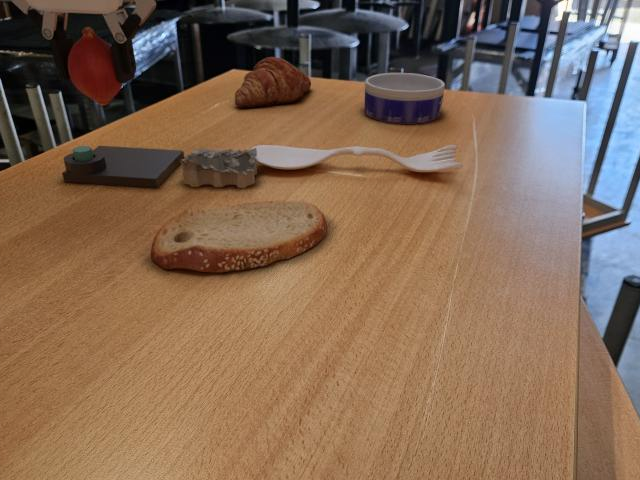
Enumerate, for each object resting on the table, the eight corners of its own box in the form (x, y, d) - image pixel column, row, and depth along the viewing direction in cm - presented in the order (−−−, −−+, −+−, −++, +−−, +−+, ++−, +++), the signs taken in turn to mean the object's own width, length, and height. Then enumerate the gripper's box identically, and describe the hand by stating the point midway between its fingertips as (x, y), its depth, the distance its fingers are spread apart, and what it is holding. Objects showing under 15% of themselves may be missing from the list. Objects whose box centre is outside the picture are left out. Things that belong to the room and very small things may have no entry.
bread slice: (335, 220, 74) (336, 193, 72) (288, 292, 60) (288, 260, 58) (208, 202, 78) (205, 176, 76) (137, 265, 64) (130, 235, 62)
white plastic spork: (460, 185, 84) (464, 162, 82) (245, 175, 86) (243, 153, 84) (454, 163, 91) (457, 142, 89) (256, 155, 93) (255, 133, 91)
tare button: (71, 162, 82) (69, 151, 81) (80, 155, 84) (77, 145, 83) (88, 163, 82) (86, 152, 81) (97, 156, 84) (94, 146, 83)
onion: (76, 99, 67) (58, 23, 62) (127, 96, 68) (114, 21, 64) (76, 113, 62) (58, 32, 57) (131, 109, 64) (117, 30, 59)
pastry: (310, 110, 114) (310, 67, 110) (233, 109, 114) (230, 66, 109) (311, 89, 128) (311, 50, 123) (242, 88, 128) (239, 49, 123)
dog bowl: (374, 99, 121) (376, 69, 118) (446, 107, 118) (450, 75, 114) (354, 119, 110) (356, 86, 106) (434, 128, 106) (438, 94, 102)
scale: (61, 182, 83) (56, 162, 81) (99, 154, 93) (95, 135, 91) (156, 188, 81) (153, 168, 80) (184, 159, 91) (182, 140, 89)
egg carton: (179, 187, 82) (175, 159, 80) (192, 168, 88) (188, 142, 86) (253, 189, 81) (251, 161, 79) (261, 170, 88) (259, 143, 85)
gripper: (-56, -133, 51) (6, 82, 61) (129, -128, 49) (160, 92, 60) (-5, -128, 57) (43, 67, 67) (161, -124, 55) (184, 75, 66)
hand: (98, 77), depth 64 cm, fingers closed on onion, 5 cm apart
